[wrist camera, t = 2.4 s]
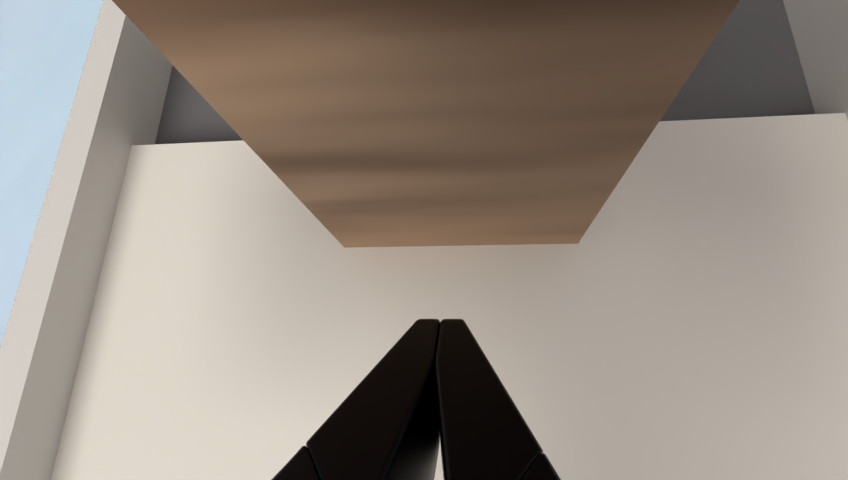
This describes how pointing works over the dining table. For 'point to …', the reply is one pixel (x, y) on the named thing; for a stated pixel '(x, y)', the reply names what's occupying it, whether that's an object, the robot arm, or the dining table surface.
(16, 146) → the dining table surface
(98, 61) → the white recessed tray
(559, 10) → the walnut block
